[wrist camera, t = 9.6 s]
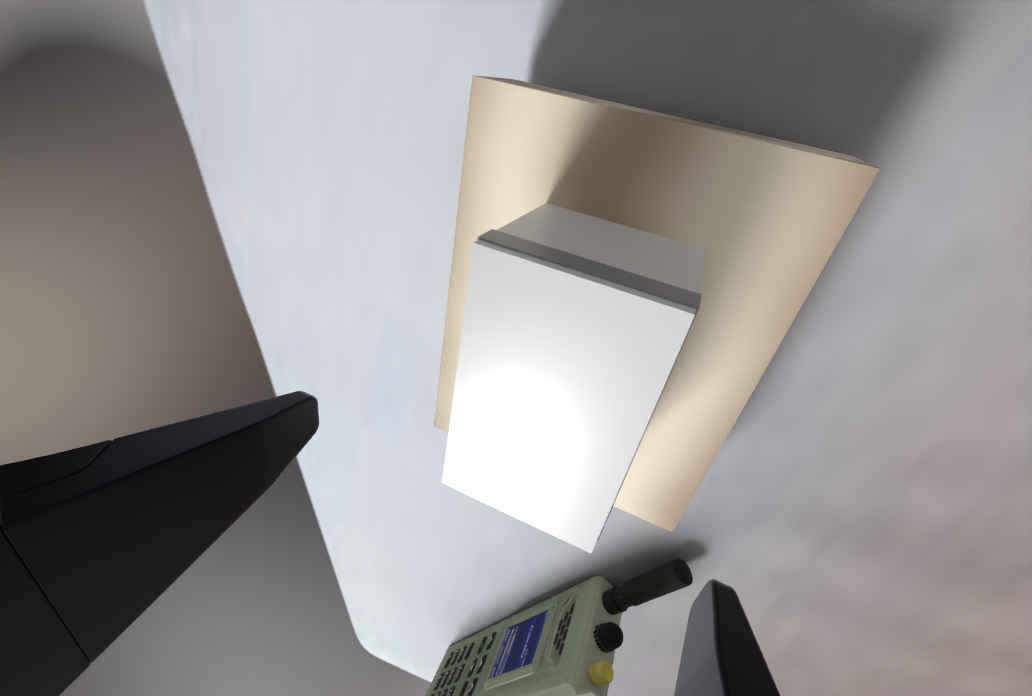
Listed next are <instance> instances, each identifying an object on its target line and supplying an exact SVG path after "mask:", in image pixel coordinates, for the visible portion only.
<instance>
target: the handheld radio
mask: <svg viewBox="0 0 1032 696" xmlns="http://www.w3.org/2000/svg"><path fill="white" fill-rule="evenodd" d="M692 580H693V578H692V573H691V571H690V569H689V567H688V565H687V564H686V563H685V562H684V561H683V560H681V559H675V560H673V561H671V562H669V563H666V564H664V565H662V566H660V567H658V568H655V569H653V570H651V571H649V572H646V573H644V574H642V575H640V576H638V577H635V578H633V579H631V580H629V581H626V582H625V583H624V584H623V586H620V587H617V586H616V587H613V586H612V585H611V584H610V583H609V582H607V581H606V580H605V579H604V578H603V577H601V576H594V577H591V578H589V579H587V580H585V581H583V582H581V583H579V584H577V585H575V586H573V587H571V588H569V589H567V590H565V591H563V592H561V593H559V594H557V595H555V596H552V597H550V598H548V599H546V600H544V601H542V602H540V603H538V604H536V605H534V606H532V607H530V608H528V609H526V610H524V611H522V612H520V613H518V614H516V615H514V616H512V617H509V618H507V619H505V620H503V621H501V622H499V623H497V624H495V625H493V626H491V627H489V628H487V629H485V630H483V631H481V632H479V633H477V634H475V635H473V636H471V637H468V638H466V639H464V640H462V641H460V642H458V643H456V644H454V645H452V646H450V647H448V649H447V651H446V653H445V656H444V658H443V660H442V662H441V664H440V666H439V668H438V670H437V672H436V675H435V677H434V679H433V681H432V683H431V685H430V687H429V689H428V691H427V693H426V696H607V692H608V687H609V683H610V682H611V681H612V679H613V669H612V664H613V659H614V653H615V649H617V648H618V647H620V646H621V644H622V642H623V633H622V630H621V628H620V627H619V625H620V619H621V614H622V612H624V611H626V610H627V608H628V607H630V606H637V605H639V604H642V603H645V602H647V601H650V600H653V599H655V598H658V597H660V596H663V595H666V594H668V593H671V592H674V591H676V590H679V589H681V588H684V587H687V586H689V585H691V584H692Z"/></svg>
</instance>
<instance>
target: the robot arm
mask: <svg viewBox="0 0 1032 696" xmlns="http://www.w3.org/2000/svg"><path fill="white" fill-rule="evenodd" d="M318 426H319V413H318V401H317V399H316V397H314V396H312V395H310V394H308V393H306V392H303V391H297V392H293V393H289V394H285V395H281V396H277V397H273V398H270V399H266V400H262V401H258V402H255V403H250V404H247V405H243V406H239V407H235V408H231V409H227V410H223V411H220V412H216V413H212V414H208V415H205V416H200V417H196V418H193V419H189V420H185V421H181V422H177V423H173V424H169V425H166V426H162V427H158V428H154V429H150V430H147V431H143V432H139V433H135V434H131V435H127V436H124V437H119V438H116V439H114V440H113V441H111V440H107V441H104V442H100V443H97V444H92V445H89V446H84V447H80V448H76V449H72V450H68V451H64V452H60V453H56V454H51V455H47V456H42V457H38V458H33V459H29V460H24V461H19V462H15V463H10V464H5V465H0V696H59V695H61V694H62V693H63V692H64V691H65V690H66V689H67V688H68V687H69V686H70V685H71V684H72V683H73V682H74V681H75V680H76V679H77V678H78V677H79V676H80V675H81V674H82V673H83V672H84V671H85V670H86V669H87V668H88V667H89V666H90V664H91V662H93V661H95V660H96V658H97V657H98V656H100V655H101V654H102V653H103V652H104V651H105V649H107V648H108V647H109V646H110V645H111V644H112V643H113V642H114V641H115V640H116V639H117V638H118V637H119V636H120V635H121V634H122V633H123V632H124V631H125V630H126V629H127V628H128V627H129V626H130V625H131V624H132V623H133V622H134V621H135V620H136V619H137V618H138V617H139V616H140V615H141V614H142V613H143V612H144V611H145V610H146V609H147V608H148V607H149V606H150V605H151V604H152V603H153V602H154V601H155V600H156V599H157V598H158V597H159V596H160V595H161V594H162V593H163V592H164V591H165V590H166V589H167V588H168V587H169V586H170V585H171V584H172V583H173V582H174V581H175V580H176V579H177V578H178V577H179V576H180V575H181V574H182V573H183V572H184V571H185V570H186V569H188V568H189V567H190V566H191V564H193V563H194V562H195V561H196V560H197V559H198V558H199V557H200V556H201V555H202V554H203V553H204V552H205V551H206V550H207V549H208V548H209V547H210V546H211V545H212V544H213V543H214V542H215V541H216V540H217V539H218V538H219V537H220V536H221V535H222V534H223V533H224V532H225V531H226V530H227V529H228V528H229V527H230V526H231V525H232V524H233V523H234V522H235V521H236V520H237V519H238V518H239V517H240V516H241V515H242V514H243V513H244V512H245V511H246V510H247V509H248V508H249V507H250V506H251V505H252V504H253V503H254V502H255V501H256V500H257V499H258V498H259V497H260V496H261V495H262V494H263V493H264V492H265V491H266V490H267V489H268V488H269V487H270V486H271V485H272V484H273V483H274V482H275V481H276V479H277V478H278V477H279V476H280V475H281V474H282V472H283V471H284V470H285V469H286V468H287V466H288V465H289V464H290V463H291V462H292V460H293V459H294V458H295V457H296V456H297V454H298V453H299V452H300V451H301V450H302V448H303V447H304V446H305V445H306V444H307V442H308V441H309V440H310V439H311V438H312V436H313V435H314V434H315V433H316V431H317V429H318ZM674 696H780V694H779V692H778V689H777V687H776V685H775V682H774V680H773V678H772V675H771V673H770V671H769V668H768V666H767V664H766V661H765V659H764V657H763V654H762V652H761V650H760V647H759V645H758V643H757V640H756V638H755V636H754V633H753V631H752V629H751V626H750V624H749V622H748V619H747V617H746V615H745V612H744V610H743V608H742V605H741V603H740V601H739V598H738V596H737V594H736V592H735V591H734V589H733V588H731V587H730V586H727V585H725V584H723V583H721V582H719V581H717V580H714V579H712V580H709V581H708V582H707V584H706V585H705V586H704V588H703V589H702V591H701V592H700V594H699V595H698V596H697V598H696V599H695V601H694V602H693V604H692V607H691V610H690V614H689V619H688V625H687V630H686V635H685V641H684V646H683V651H682V657H681V662H680V667H679V673H678V678H677V683H676V689H675V695H674Z"/></svg>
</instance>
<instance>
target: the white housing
mask: <svg viewBox="0 0 1032 696" xmlns="http://www.w3.org/2000/svg"><path fill="white" fill-rule="evenodd" d="M705 255H706V249H705V248H701V247H698V246H694V245H691V244H687V243H684V242H680V241H677V240H673V239H670V238H666V237H663V236H660V235H656V234H653V233H649V232H646V231H642V230H639V229H635V228H632V227H628V226H625V225H621V224H618V223H614V222H611V221H608V220H604V219H601V218H597V217H594V216H590V215H587V214H583V213H580V212H576V211H573V210H569V209H566V208H562V207H559V206H556V205H552V204H549V203H545V204H543V205H541V206H539V207H538V208H536V209H534V210H532V211H530V212H528V213H527V214H525V215H523V216H521V217H519V218H518V219H516V220H514V221H512V222H510V223H508V224H507V225H505V226H503V227H501V228H499V229H497V230H494V229H491V230H489V231H488V232H486V233H484V234H482V235H480V236H478V237H477V241H476V242H474V243H473V249H472V256H471V264H470V272H469V279H468V287H467V295H466V302H465V310H464V318H463V325H462V333H461V341H460V348H459V356H458V364H457V371H456V379H455V387H454V394H453V402H452V410H451V417H450V425H449V433H448V440H447V448H446V456H445V463H444V471H443V479H442V483H443V484H446V485H448V486H450V487H452V488H454V489H456V490H458V491H460V492H462V493H464V494H467V495H469V496H471V497H473V498H475V499H477V500H479V501H481V502H483V503H486V504H488V505H490V506H492V507H494V508H496V509H498V510H500V511H502V512H504V513H507V514H509V515H511V516H513V517H515V518H517V519H519V520H521V521H523V522H525V523H528V524H530V525H532V526H534V527H536V528H538V529H540V530H542V531H544V532H546V533H549V534H551V535H553V536H555V537H557V538H559V539H561V540H563V541H565V542H567V543H570V544H572V545H574V546H576V547H578V548H580V549H582V550H584V551H586V552H589V553H592V551H593V549H594V547H595V546H596V544H597V541H598V539H599V537H600V535H601V532H602V530H603V528H604V525H605V523H606V521H607V519H608V516H609V514H610V512H611V509H612V507H613V505H614V503H615V500H616V498H617V496H618V493H619V491H620V489H621V487H622V484H623V482H624V480H625V477H626V475H627V473H628V470H629V468H630V466H631V464H632V461H633V459H634V457H635V454H636V452H637V450H638V448H639V445H640V443H641V441H642V438H643V436H644V434H645V432H646V429H647V427H648V425H649V422H650V420H651V418H652V416H653V413H654V411H655V409H656V406H657V404H658V402H659V399H660V397H661V395H662V393H663V390H664V388H665V386H666V383H667V381H668V379H669V377H670V374H671V372H672V370H673V367H674V365H675V363H676V361H677V358H678V356H679V354H680V351H681V349H682V347H683V344H684V342H685V340H686V338H687V335H688V333H689V331H690V328H691V326H692V324H693V322H694V319H695V317H696V315H697V312H698V310H699V308H700V301H701V295H702V294H699V290H700V284H701V278H702V272H703V267H704V261H705Z"/></svg>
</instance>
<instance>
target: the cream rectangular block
mask: <svg viewBox="0 0 1032 696" xmlns="http://www.w3.org/2000/svg"><path fill="white" fill-rule="evenodd" d="M879 170H880V168H878V167H875V166H873V165H871V164H869V163H867V162H865V161H862V160H860V159H858V158H856V157H854V156H851V155H847V154H842V153H838V152H833V151H829V150H825V149H820V148H816V147H811V146H807V145H802V144H798V143H794V142H789V141H785V140H780V139H776V138H771V137H767V136H762V135H758V134H754V133H749V132H745V131H740V130H736V129H731V128H727V127H723V126H718V125H714V124H709V123H705V122H700V121H696V120H692V119H687V118H683V117H678V116H674V115H669V114H665V113H661V112H656V111H652V110H647V109H643V108H638V107H634V106H630V105H625V104H621V103H616V102H612V101H607V100H603V99H599V98H594V97H590V96H585V95H581V94H576V93H572V92H567V91H563V90H559V89H554V88H550V87H545V86H541V85H536V84H532V83H528V82H523V81H519V80H514V79H504V78H494V77H483V76H472V85H471V94H470V103H469V112H468V121H467V130H466V139H465V148H464V158H463V167H462V176H461V185H460V194H459V203H458V212H457V221H456V230H455V239H454V248H453V258H452V267H451V276H450V285H449V294H448V303H447V312H446V321H445V330H444V339H443V349H442V358H441V367H440V376H439V385H438V394H437V403H436V412H435V421H434V426H435V427H437V428H439V429H442V430H444V431H446V432H448V433H449V425H450V417H451V410H452V402H453V394H454V387H455V379H456V371H457V364H458V356H459V348H460V341H461V333H462V325H463V318H464V310H465V302H466V295H467V287H468V279H469V272H470V264H471V256H472V249H473V243H474V242H476V241H477V237H478V236H480V235H482V234H484V233H486V232H488V231H489V230H491V229H494V230H497V229H499V228H501V227H503V226H505V225H507V224H508V223H510V222H512V221H514V220H516V219H518V218H519V217H521V216H523V215H525V214H527V213H528V212H530V211H532V210H534V209H536V208H538V207H539V206H541V205H543V204H545V203H549V204H552V205H556V206H559V207H562V208H566V209H569V210H573V211H576V212H580V213H583V214H587V215H590V216H594V217H597V218H601V219H604V220H608V221H611V222H614V223H618V224H621V225H625V226H628V227H632V228H635V229H639V230H642V231H646V232H649V233H653V234H656V235H660V236H663V237H666V238H670V239H673V240H677V241H680V242H684V243H687V244H691V245H694V246H698V247H701V248H705V249H706V255H705V261H704V267H703V272H702V278H701V284H700V290H699V294H702V295H701V301H700V308H699V310H698V312H697V315H696V317H695V319H694V322H693V324H692V326H691V328H690V331H689V333H688V335H687V338H686V340H685V342H684V344H683V347H682V349H681V351H680V354H679V356H678V358H677V361H676V363H675V365H674V367H673V370H672V372H671V374H670V377H669V379H668V381H667V383H666V386H665V388H664V390H663V393H662V395H661V397H660V399H659V402H658V404H657V406H656V409H655V411H654V413H653V416H652V418H651V420H650V422H649V425H648V427H647V429H646V432H645V434H644V436H643V438H642V441H641V443H640V445H639V448H638V450H637V452H636V454H635V457H634V459H633V461H632V464H631V466H630V468H629V470H628V473H627V475H626V477H625V480H624V482H623V484H622V487H621V489H620V491H619V493H618V496H617V498H616V500H615V503H614V505H613V506H614V507H617V508H619V509H621V510H623V511H626V512H628V513H630V514H632V515H635V516H637V517H639V518H641V519H644V520H646V521H648V522H650V523H652V524H655V525H657V526H659V527H661V528H664V529H666V530H668V531H670V532H673V530H674V529H675V527H676V525H677V523H678V522H679V520H680V518H681V516H682V515H683V513H684V511H685V509H686V508H687V506H688V504H689V502H690V501H691V499H692V497H693V495H694V494H695V492H696V490H697V488H698V487H699V485H700V483H701V481H702V480H703V478H704V476H705V474H706V473H707V471H708V469H709V467H710V466H711V464H712V462H713V460H714V459H715V457H716V455H717V453H718V452H719V450H720V448H721V446H722V445H723V443H724V441H725V439H726V438H727V436H728V434H729V432H730V431H731V429H732V427H733V425H734V424H735V422H736V420H737V418H738V417H739V415H740V413H741V411H742V410H743V408H744V406H745V404H746V403H747V401H748V399H749V398H750V396H751V394H752V392H753V391H754V389H755V387H756V385H757V384H758V382H759V380H760V378H761V377H762V375H763V373H764V371H765V370H766V368H767V366H768V364H769V363H770V361H771V359H772V357H773V356H774V354H775V352H776V350H777V349H778V347H779V345H780V343H781V342H782V340H783V338H784V336H785V335H786V333H787V331H788V329H789V328H790V326H791V324H792V322H793V321H794V319H795V317H796V315H797V314H798V312H799V310H800V308H801V307H802V305H803V303H804V301H805V300H806V298H807V296H808V294H809V293H810V291H811V289H812V287H813V286H814V284H815V282H816V280H817V279H818V277H819V275H820V273H821V272H822V270H823V268H824V266H825V265H826V263H827V261H828V259H829V258H830V256H831V254H832V252H833V251H834V249H835V247H836V246H837V244H838V242H839V240H840V239H841V237H842V235H843V233H844V232H845V230H846V228H847V226H848V225H849V223H850V221H851V219H852V218H853V216H854V214H855V212H856V211H857V209H858V207H859V205H860V204H861V202H862V200H863V198H864V197H865V195H866V193H867V191H868V190H869V188H870V186H871V184H872V183H873V181H874V179H875V177H876V176H877V174H878V172H879Z"/></svg>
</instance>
